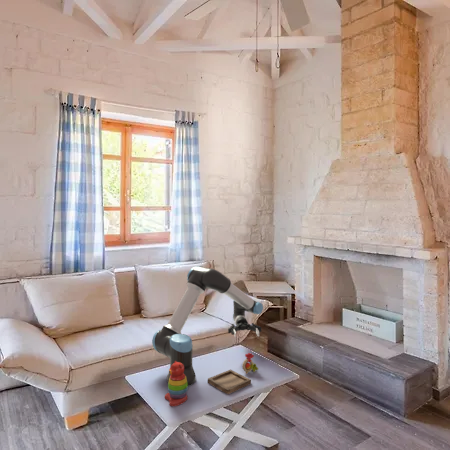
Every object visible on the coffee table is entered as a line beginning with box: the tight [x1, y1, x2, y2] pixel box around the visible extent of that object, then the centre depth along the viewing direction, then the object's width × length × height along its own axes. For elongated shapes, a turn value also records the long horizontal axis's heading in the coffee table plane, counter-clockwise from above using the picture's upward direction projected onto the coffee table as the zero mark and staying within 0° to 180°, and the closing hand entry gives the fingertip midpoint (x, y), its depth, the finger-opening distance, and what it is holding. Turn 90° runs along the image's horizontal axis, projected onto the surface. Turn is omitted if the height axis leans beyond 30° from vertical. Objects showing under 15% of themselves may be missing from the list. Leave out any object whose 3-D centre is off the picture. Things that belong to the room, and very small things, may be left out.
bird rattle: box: [241, 352, 259, 375], centre depth 201 cm, size 6×11×9 cm
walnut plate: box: [207, 369, 252, 395], centre depth 189 cm, size 16×16×2 cm
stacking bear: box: [164, 361, 189, 407], centre depth 173 cm, size 11×10×18 cm
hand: (247, 334), depth 211 cm, fingers open, 13 cm apart
